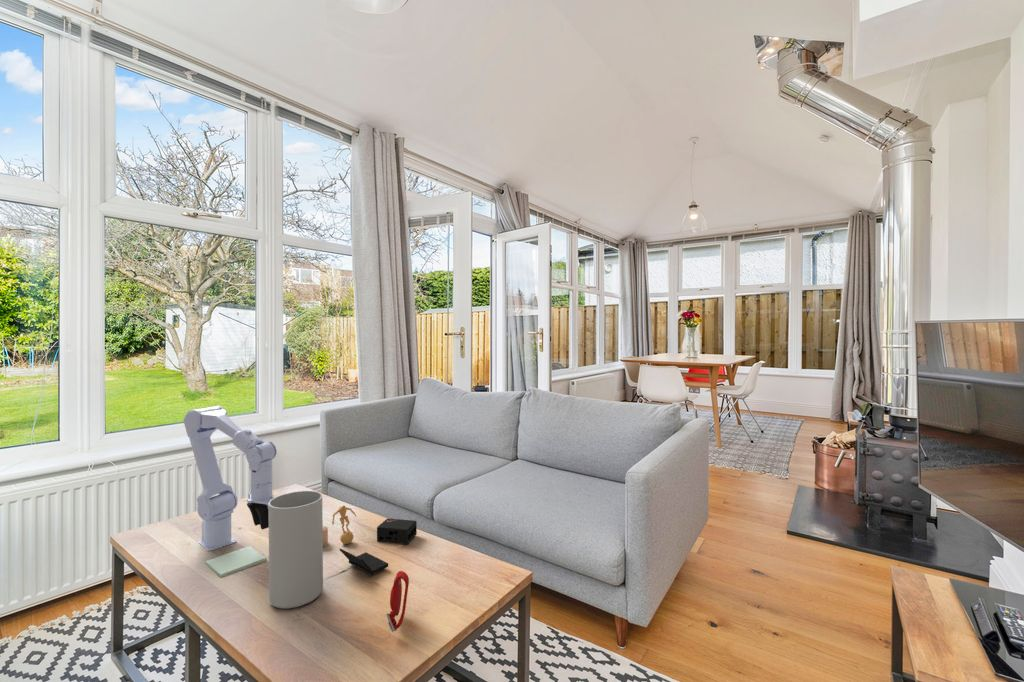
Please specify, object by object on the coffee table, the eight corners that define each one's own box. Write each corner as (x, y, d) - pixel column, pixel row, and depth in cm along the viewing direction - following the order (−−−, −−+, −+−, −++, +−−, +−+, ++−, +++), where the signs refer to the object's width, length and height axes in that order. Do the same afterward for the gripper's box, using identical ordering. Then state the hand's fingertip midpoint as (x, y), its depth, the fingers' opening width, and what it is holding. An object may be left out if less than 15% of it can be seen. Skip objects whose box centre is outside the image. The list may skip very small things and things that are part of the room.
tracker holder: (393, 605, 110) (393, 565, 110) (411, 604, 111) (411, 564, 111) (383, 637, 98) (383, 593, 98) (404, 636, 99) (403, 591, 99)
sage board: (205, 564, 130) (205, 561, 130) (249, 549, 140) (249, 546, 140) (220, 578, 123) (220, 574, 123) (266, 560, 132) (266, 557, 132)
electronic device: (407, 545, 143) (407, 529, 143) (376, 542, 145) (376, 527, 145) (416, 535, 150) (416, 520, 150) (387, 532, 152) (387, 518, 152)
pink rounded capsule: (308, 545, 142) (307, 530, 142) (323, 540, 146) (322, 525, 146) (315, 550, 139) (315, 534, 139) (330, 544, 143) (330, 529, 143)
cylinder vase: (287, 616, 106) (286, 512, 106) (259, 600, 113) (258, 502, 112) (333, 590, 117) (332, 496, 116) (304, 577, 123) (304, 487, 123)
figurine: (338, 550, 139) (337, 512, 139) (328, 544, 143) (328, 507, 143) (361, 540, 145) (361, 504, 145) (351, 535, 149) (351, 500, 149)
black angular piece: (393, 557, 130) (375, 538, 125) (380, 582, 125) (361, 563, 120) (364, 553, 135) (346, 535, 130) (351, 577, 130) (332, 558, 125)
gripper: (237, 481, 138) (238, 524, 138) (258, 491, 129) (258, 537, 130) (261, 475, 144) (261, 517, 144) (282, 484, 135) (283, 529, 135)
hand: (261, 526), depth 137 cm, fingers open, 4 cm apart
